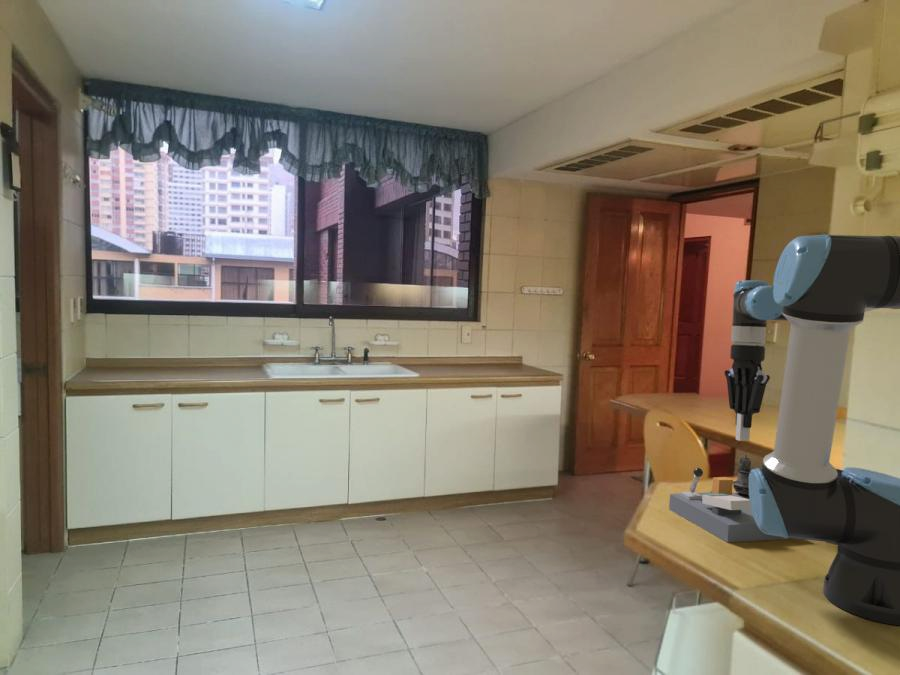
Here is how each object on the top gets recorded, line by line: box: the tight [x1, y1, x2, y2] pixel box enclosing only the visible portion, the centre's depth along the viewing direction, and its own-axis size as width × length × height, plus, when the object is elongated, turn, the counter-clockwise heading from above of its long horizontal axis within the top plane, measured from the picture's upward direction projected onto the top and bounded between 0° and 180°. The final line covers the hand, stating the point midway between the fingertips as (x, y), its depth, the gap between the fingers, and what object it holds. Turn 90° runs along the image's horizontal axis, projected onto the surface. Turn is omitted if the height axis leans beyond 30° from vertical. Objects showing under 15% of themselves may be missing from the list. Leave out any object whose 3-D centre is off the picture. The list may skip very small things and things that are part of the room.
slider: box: [711, 476, 733, 495], centre depth 154 cm, size 2×4×4 cm, turn 103°
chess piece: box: [732, 454, 752, 499], centre depth 167 cm, size 6×6×12 cm
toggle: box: [689, 467, 704, 493], centre depth 151 cm, size 2×2×7 cm
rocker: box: [702, 494, 751, 510], centre depth 141 cm, size 10×6×2 cm, turn 13°
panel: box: [668, 490, 793, 543], centre depth 146 cm, size 22×18×6 cm
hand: (742, 440), depth 147 cm, fingers closed
